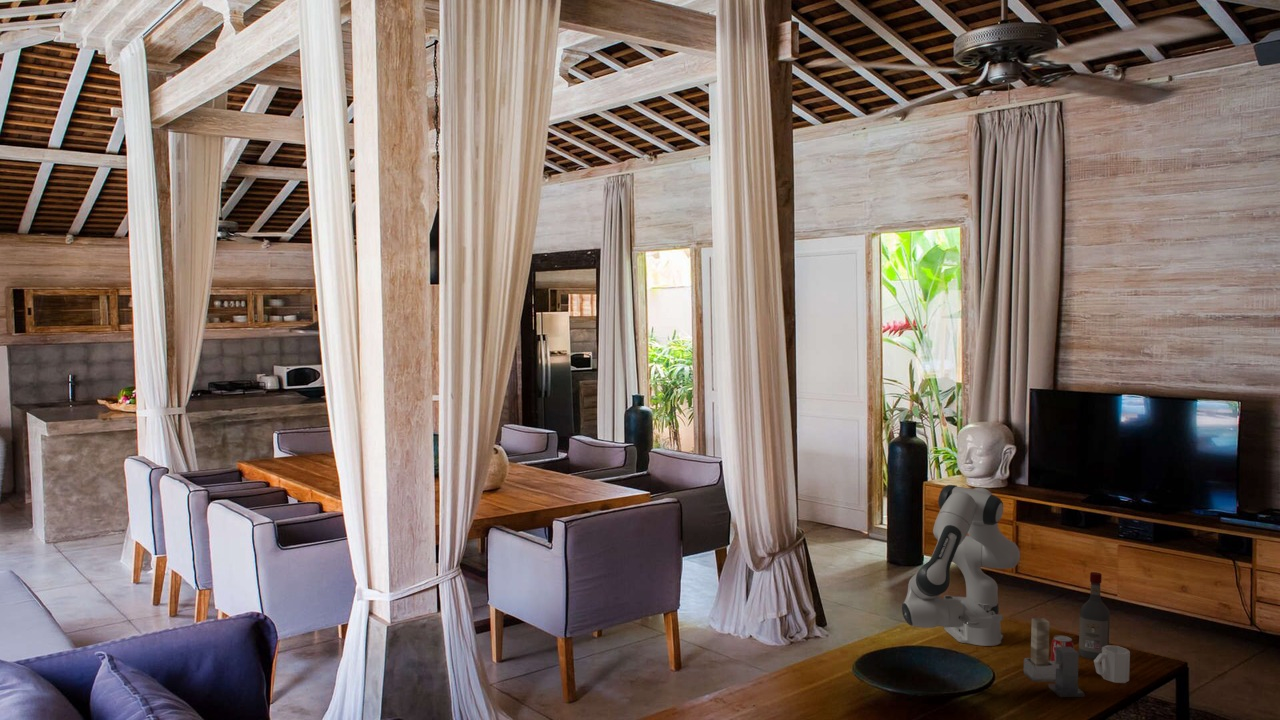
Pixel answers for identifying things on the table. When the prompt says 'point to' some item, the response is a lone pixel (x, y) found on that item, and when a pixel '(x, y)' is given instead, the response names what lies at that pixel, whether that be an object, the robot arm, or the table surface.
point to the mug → (1113, 664)
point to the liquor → (1093, 622)
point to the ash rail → (1039, 642)
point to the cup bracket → (1058, 672)
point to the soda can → (1060, 644)
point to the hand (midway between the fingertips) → (995, 612)
